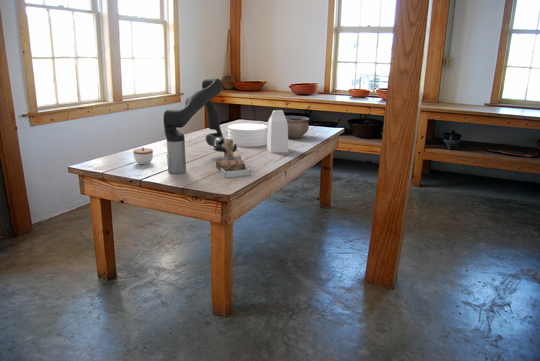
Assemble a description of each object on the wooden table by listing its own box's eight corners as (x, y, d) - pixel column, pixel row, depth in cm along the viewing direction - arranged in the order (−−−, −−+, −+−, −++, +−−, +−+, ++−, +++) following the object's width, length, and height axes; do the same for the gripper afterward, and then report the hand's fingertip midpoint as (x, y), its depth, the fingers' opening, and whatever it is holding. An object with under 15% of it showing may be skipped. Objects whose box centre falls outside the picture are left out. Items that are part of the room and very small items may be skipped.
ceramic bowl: (277, 134, 333) (278, 115, 329) (305, 134, 336) (306, 115, 331) (281, 140, 312) (282, 119, 308) (311, 140, 315) (311, 119, 310)
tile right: (237, 164, 231) (237, 160, 231) (235, 162, 234) (235, 159, 234) (243, 163, 233) (243, 160, 232) (241, 162, 236) (241, 158, 235)
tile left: (222, 165, 229) (222, 162, 228) (220, 164, 232) (220, 160, 231) (229, 165, 230) (228, 161, 229) (227, 163, 233) (227, 160, 232)
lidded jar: (157, 162, 249) (156, 146, 246) (143, 166, 240) (142, 150, 238) (144, 160, 254) (143, 144, 252) (130, 164, 246) (128, 148, 243)
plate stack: (245, 137, 324) (244, 121, 321) (275, 141, 309) (275, 125, 305) (220, 143, 302) (219, 127, 299) (251, 148, 287) (251, 131, 284)
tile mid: (229, 165, 230) (229, 161, 229) (228, 163, 233) (228, 159, 232) (236, 164, 231) (236, 160, 231) (234, 163, 234) (234, 159, 234)
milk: (270, 152, 276) (270, 111, 268) (266, 148, 286) (267, 109, 279) (288, 151, 278) (289, 111, 270) (284, 148, 289) (285, 109, 281)
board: (221, 173, 229) (221, 166, 228) (216, 167, 240) (216, 160, 238) (245, 171, 233) (245, 164, 232) (238, 165, 244) (238, 159, 243)
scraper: (219, 163, 233) (219, 141, 229) (217, 161, 238) (216, 139, 234) (241, 161, 237) (240, 140, 233) (238, 159, 242) (237, 138, 238)
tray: (224, 177, 222) (224, 172, 221) (220, 173, 229) (220, 168, 228) (250, 175, 226) (250, 169, 225) (246, 171, 233) (246, 165, 233)
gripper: (209, 138, 245) (217, 144, 230) (233, 137, 250) (242, 142, 235) (209, 151, 247) (217, 158, 232) (233, 149, 252) (242, 156, 237)
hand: (230, 150), depth 234 cm, fingers closed on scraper, 4 cm apart
